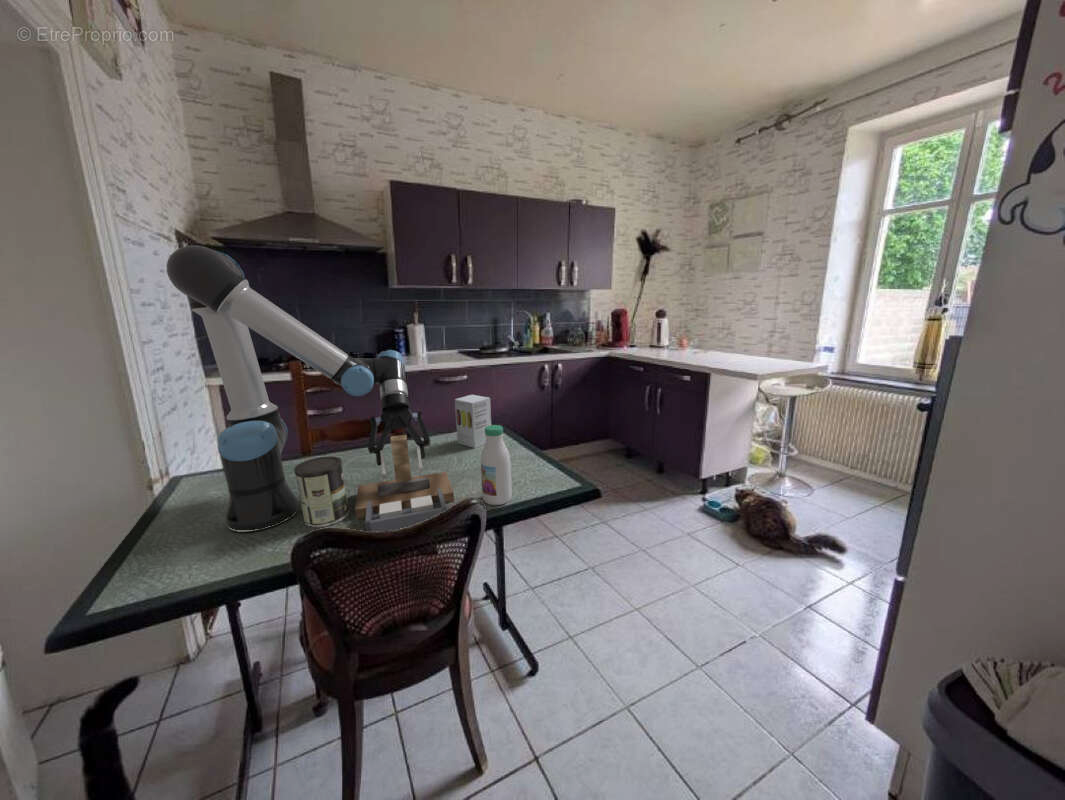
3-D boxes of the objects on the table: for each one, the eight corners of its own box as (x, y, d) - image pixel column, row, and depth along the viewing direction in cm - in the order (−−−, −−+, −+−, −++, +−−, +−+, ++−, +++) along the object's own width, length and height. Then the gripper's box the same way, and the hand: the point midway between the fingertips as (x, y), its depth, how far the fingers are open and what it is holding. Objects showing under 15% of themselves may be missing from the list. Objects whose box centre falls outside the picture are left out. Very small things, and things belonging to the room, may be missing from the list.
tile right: (412, 519, 99) (411, 508, 98) (411, 509, 103) (410, 498, 103) (434, 515, 100) (432, 504, 100) (431, 505, 105) (430, 495, 104)
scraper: (378, 496, 106) (372, 445, 103) (379, 487, 111) (372, 438, 108) (430, 487, 110) (425, 438, 107) (428, 479, 116) (423, 432, 112)
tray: (367, 539, 92) (365, 523, 91) (369, 516, 102) (367, 501, 101) (448, 523, 98) (446, 508, 97) (442, 503, 107) (441, 489, 106)
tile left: (380, 525, 97) (379, 514, 96) (381, 515, 101) (379, 504, 100) (403, 521, 98) (401, 510, 97) (402, 511, 103) (401, 500, 102)
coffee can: (341, 502, 109) (333, 452, 106) (355, 516, 102) (347, 463, 99) (298, 516, 103) (288, 464, 99) (310, 533, 95) (300, 477, 92)
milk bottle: (506, 489, 114) (503, 421, 109) (515, 502, 107) (513, 429, 102) (479, 495, 111) (475, 425, 106) (487, 508, 104) (482, 434, 99)
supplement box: (456, 443, 150) (453, 399, 146) (474, 436, 158) (471, 393, 153) (475, 448, 145) (472, 402, 141) (493, 441, 152) (490, 397, 148)
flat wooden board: (356, 518, 101) (354, 509, 100) (359, 493, 114) (358, 485, 113) (454, 501, 108) (453, 492, 108) (446, 479, 121) (446, 471, 121)
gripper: (432, 401, 123) (443, 471, 113) (356, 409, 117) (360, 484, 106) (432, 388, 117) (444, 460, 107) (352, 395, 111) (356, 474, 100)
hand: (402, 472), depth 106 cm, fingers open, 8 cm apart
